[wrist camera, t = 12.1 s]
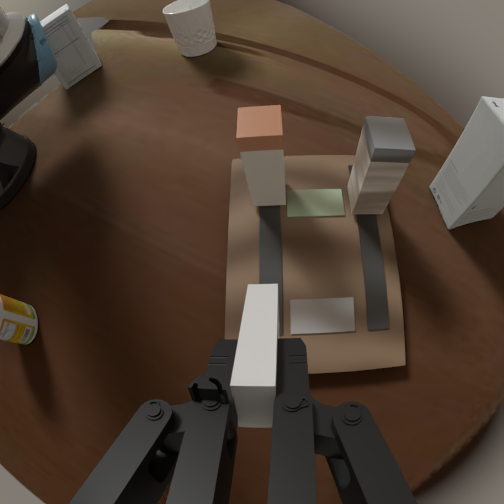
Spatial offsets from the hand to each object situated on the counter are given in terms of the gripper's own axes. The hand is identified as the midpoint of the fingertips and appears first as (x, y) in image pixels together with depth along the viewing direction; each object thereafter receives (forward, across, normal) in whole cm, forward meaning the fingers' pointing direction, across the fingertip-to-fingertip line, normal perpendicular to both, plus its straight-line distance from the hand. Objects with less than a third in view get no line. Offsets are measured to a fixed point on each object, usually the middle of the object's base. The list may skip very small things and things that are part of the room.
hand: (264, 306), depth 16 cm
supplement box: (+46, -40, +27) cm, 66 cm away
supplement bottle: (+8, -31, -10) cm, 34 cm away
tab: (+17, 0, +2) cm, 17 cm away
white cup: (+43, -12, +24) cm, 50 cm away
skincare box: (+18, +23, 0) cm, 29 cm away
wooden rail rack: (+14, +4, -4) cm, 15 cm away
